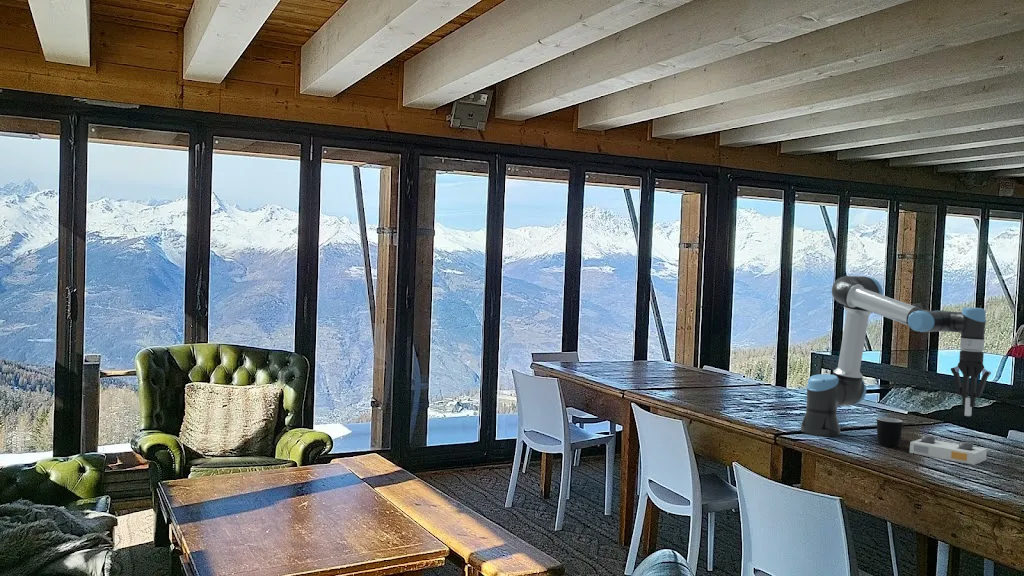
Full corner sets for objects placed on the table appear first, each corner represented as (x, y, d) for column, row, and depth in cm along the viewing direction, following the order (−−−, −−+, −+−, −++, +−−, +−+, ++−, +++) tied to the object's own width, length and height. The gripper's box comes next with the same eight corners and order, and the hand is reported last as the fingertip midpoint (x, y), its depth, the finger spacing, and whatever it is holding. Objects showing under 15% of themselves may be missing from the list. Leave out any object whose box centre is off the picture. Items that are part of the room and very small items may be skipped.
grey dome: (956, 450, 306) (957, 442, 305) (961, 449, 309) (961, 441, 308) (970, 453, 302) (970, 444, 302) (974, 451, 305) (974, 443, 305)
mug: (905, 449, 320) (907, 422, 319) (881, 448, 320) (883, 421, 319) (891, 442, 332) (892, 416, 331) (868, 441, 332) (869, 415, 331)
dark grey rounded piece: (919, 444, 315) (919, 436, 315) (923, 442, 318) (924, 434, 318) (931, 446, 312) (932, 438, 312) (936, 445, 315) (936, 437, 315)
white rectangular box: (909, 452, 313) (909, 442, 313) (922, 448, 322) (923, 437, 322) (973, 465, 297) (974, 453, 297) (986, 459, 307) (986, 448, 306)
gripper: (948, 349, 306) (945, 413, 307) (988, 352, 297) (984, 419, 298) (956, 348, 312) (952, 411, 312) (995, 351, 302) (991, 417, 303)
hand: (967, 415), depth 305 cm, fingers closed
